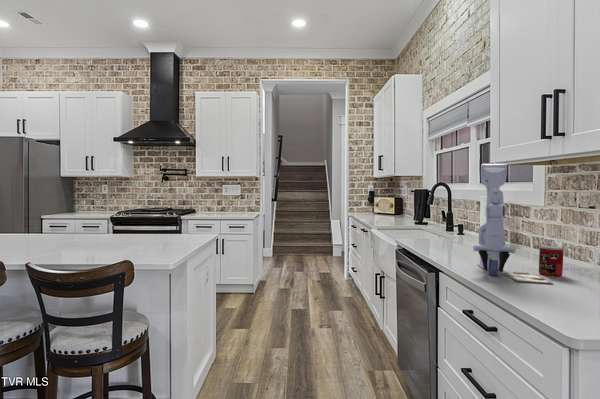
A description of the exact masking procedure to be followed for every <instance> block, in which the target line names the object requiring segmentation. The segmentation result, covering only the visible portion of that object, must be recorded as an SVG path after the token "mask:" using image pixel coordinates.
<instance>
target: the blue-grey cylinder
mask: <svg viewBox="0 0 600 399" xmlns="http://www.w3.org/2000/svg"><path fill="white" fill-rule="evenodd" d="M498 271H499V270H498V257H494V256H490V257H489V269H488V276H492V277H498Z"/></svg>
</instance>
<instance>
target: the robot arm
mask: <svg viewBox="0 0 600 399" xmlns="http://www.w3.org/2000/svg"><path fill="white" fill-rule="evenodd" d="M507 176H508V165H507V163H482V164H481V165H480V182H481V184H480V185H483V186H485V189H486V205H485V220H486V222H485V223H483V224H482V225H481V226H479V229H478V230H479V231H478V244H479V245H473V246H472V251H474V252H478V254H479V263H477V266H478V267H479V268H481V269H483V271H488V270H489V257H490V256H494V257H498V271H499V272H500V273H501V272H502V273H504V272H503V271H504V268H505V265H506V263H507V261H508V259H509V258H510V256H511V254H516V247H510V246H509V247H508V246H505V245H506V233H505V232H506V229H505V227H504V222H505V217H506V204H505V202H504V192H503V191H502V190H501V188H500V187H501V186H504V185H505V184H506V181H507V180H506V179H507Z"/></svg>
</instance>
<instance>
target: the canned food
mask: <svg viewBox="0 0 600 399" xmlns="http://www.w3.org/2000/svg"><path fill="white" fill-rule="evenodd" d="M538 252H539V256H538V257H539V258H538V275H540V276H541V275H542V276H545V277H552V276H553V277H554V278H555V277H556V278H558V277H562V275H563V272H564V271H563V267H564V247H562V246H557V245H547V244H546V245H545V244H543V245H540V246H539V250H538ZM553 277H552V278H553Z"/></svg>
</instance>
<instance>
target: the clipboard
mask: <svg viewBox="0 0 600 399" xmlns="http://www.w3.org/2000/svg"><path fill="white" fill-rule="evenodd" d="M503 275H505V277H508V278H509V279H510V280H512V281H514V282H515V283H521V284H522V283H523V284H537V285H538V284H539V285H554V282H552V281H550V280H548V279H546V278H544V277H543V276H541V275H540V274H531V273H529V272H523V271H513V272H512V273H511V272H503Z"/></svg>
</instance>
